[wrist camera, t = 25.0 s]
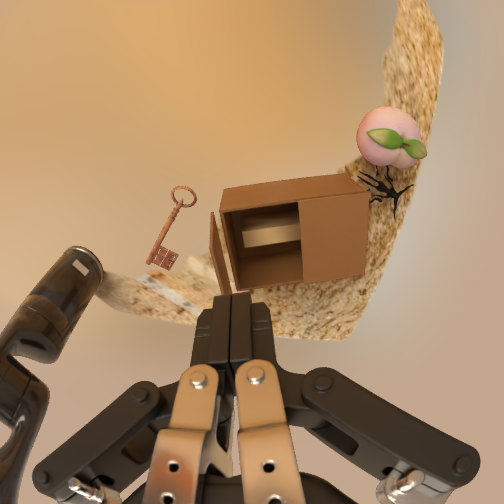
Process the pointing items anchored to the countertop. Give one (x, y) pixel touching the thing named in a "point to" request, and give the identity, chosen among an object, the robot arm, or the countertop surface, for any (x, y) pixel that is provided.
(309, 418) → the robot arm
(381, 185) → the creature
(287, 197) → the carton
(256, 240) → the tan wooden block
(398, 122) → the decorative fruit
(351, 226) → the flap
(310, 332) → the countertop surface
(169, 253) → the key
